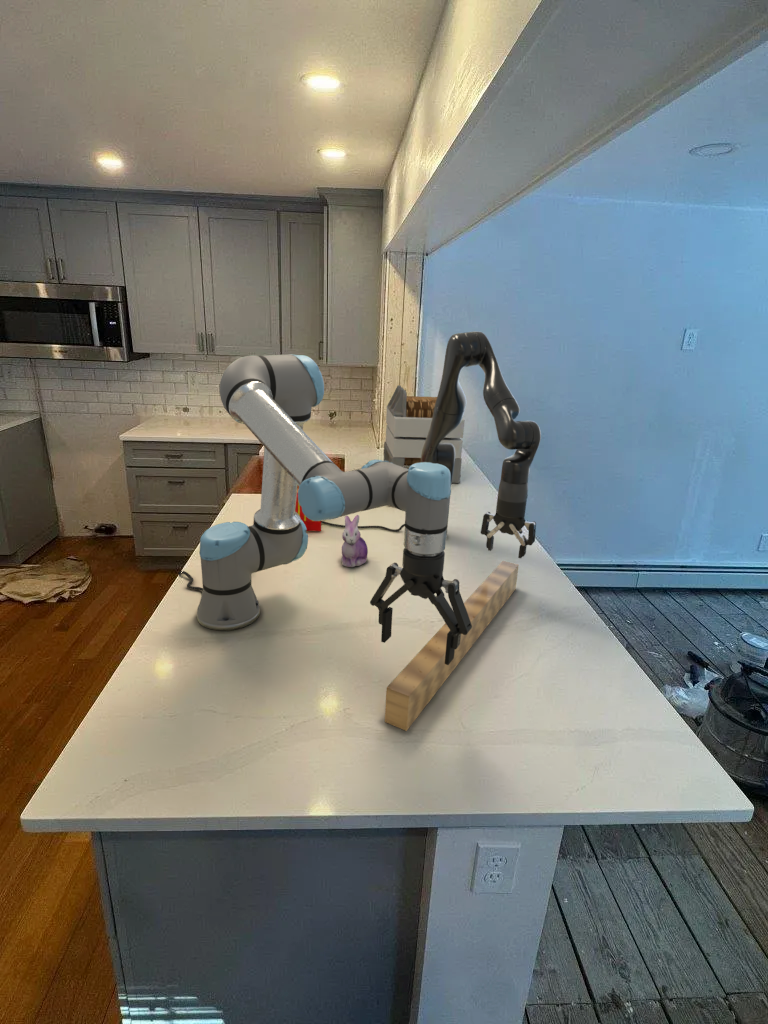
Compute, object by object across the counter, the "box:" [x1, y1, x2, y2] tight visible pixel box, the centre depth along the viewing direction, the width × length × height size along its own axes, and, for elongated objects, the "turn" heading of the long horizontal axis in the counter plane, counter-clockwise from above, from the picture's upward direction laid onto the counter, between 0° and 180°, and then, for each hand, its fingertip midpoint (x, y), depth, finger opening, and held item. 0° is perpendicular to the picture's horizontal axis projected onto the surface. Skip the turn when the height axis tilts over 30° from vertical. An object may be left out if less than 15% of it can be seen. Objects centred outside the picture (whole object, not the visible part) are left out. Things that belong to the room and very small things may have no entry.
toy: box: [295, 492, 322, 532], centre depth 209 cm, size 12×13×30 cm
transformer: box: [383, 384, 465, 484], centre depth 268 cm, size 34×33×41 cm
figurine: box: [340, 514, 369, 568], centre depth 174 cm, size 9×10×15 cm
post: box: [384, 560, 520, 732], centre depth 135 cm, size 69×5×8 cm, turn 151°
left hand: (416, 649), depth 110 cm, fingers open, 13 cm apart
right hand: (505, 553), depth 154 cm, fingers open, 8 cm apart
